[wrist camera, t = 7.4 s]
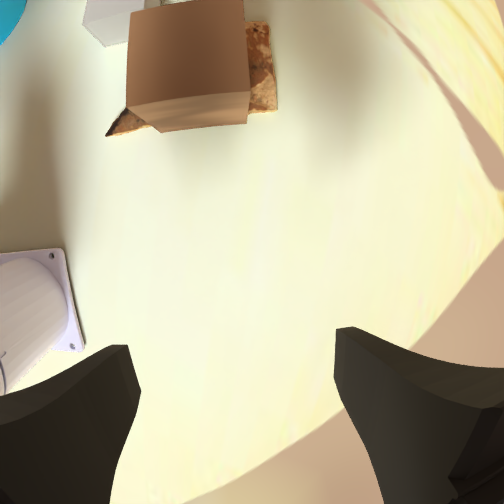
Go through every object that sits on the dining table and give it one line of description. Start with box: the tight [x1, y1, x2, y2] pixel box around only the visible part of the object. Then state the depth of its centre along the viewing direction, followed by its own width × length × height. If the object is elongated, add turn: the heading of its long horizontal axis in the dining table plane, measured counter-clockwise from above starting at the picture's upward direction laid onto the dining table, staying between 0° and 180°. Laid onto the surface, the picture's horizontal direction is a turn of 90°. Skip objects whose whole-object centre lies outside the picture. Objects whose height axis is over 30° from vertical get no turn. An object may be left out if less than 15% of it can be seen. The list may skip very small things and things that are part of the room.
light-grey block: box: [82, 0, 161, 47], centre depth 13 cm, size 4×4×4 cm
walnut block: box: [126, 0, 251, 133], centre depth 13 cm, size 5×5×6 cm
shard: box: [105, 21, 278, 137], centre depth 16 cm, size 11×8×2 cm
